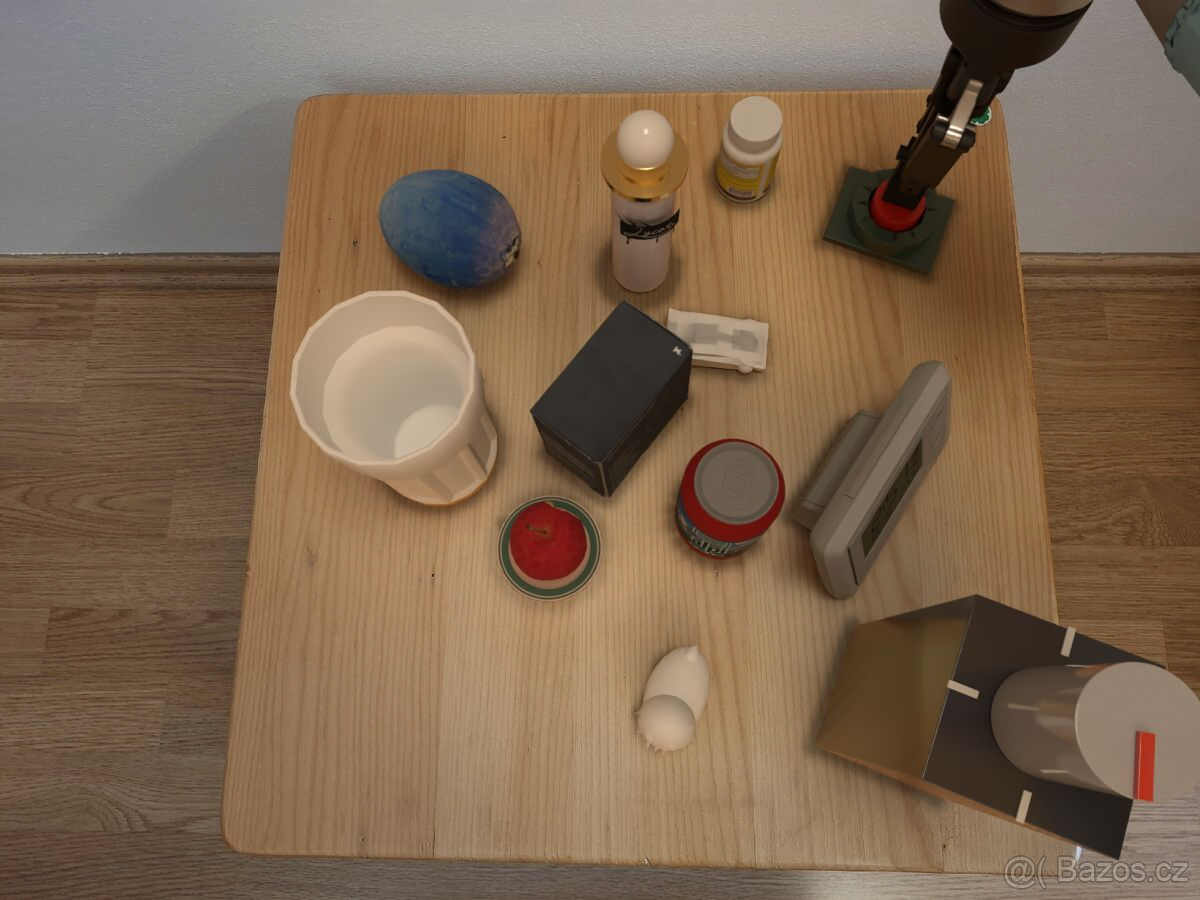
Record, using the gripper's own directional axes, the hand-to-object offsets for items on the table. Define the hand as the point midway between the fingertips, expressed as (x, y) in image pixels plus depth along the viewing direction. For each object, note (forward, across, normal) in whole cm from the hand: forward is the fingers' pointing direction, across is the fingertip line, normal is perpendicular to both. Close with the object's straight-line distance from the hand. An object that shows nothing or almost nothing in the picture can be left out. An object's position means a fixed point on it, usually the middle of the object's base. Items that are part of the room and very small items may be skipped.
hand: (900, 197), depth 70 cm
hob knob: (-20, +37, +12) cm, 44 cm away
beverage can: (+4, +29, -4) cm, 29 cm away
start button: (+2, 0, 0) cm, 2 cm away
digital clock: (+4, +23, +6) cm, 24 cm away
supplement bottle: (+4, +1, -12) cm, 13 cm away
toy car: (+4, +16, -9) cm, 19 cm away
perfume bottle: (+4, +12, -17) cm, 21 cm away
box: (+4, +25, -14) cm, 29 cm away
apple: (+4, +36, -15) cm, 39 cm away
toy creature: (+4, +42, -3) cm, 43 cm away
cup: (+4, +32, -26) cm, 41 cm away
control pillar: (+4, +37, +12) cm, 39 cm away
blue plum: (+4, +16, -30) cm, 34 cm away
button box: (+4, 0, 0) cm, 4 cm away
